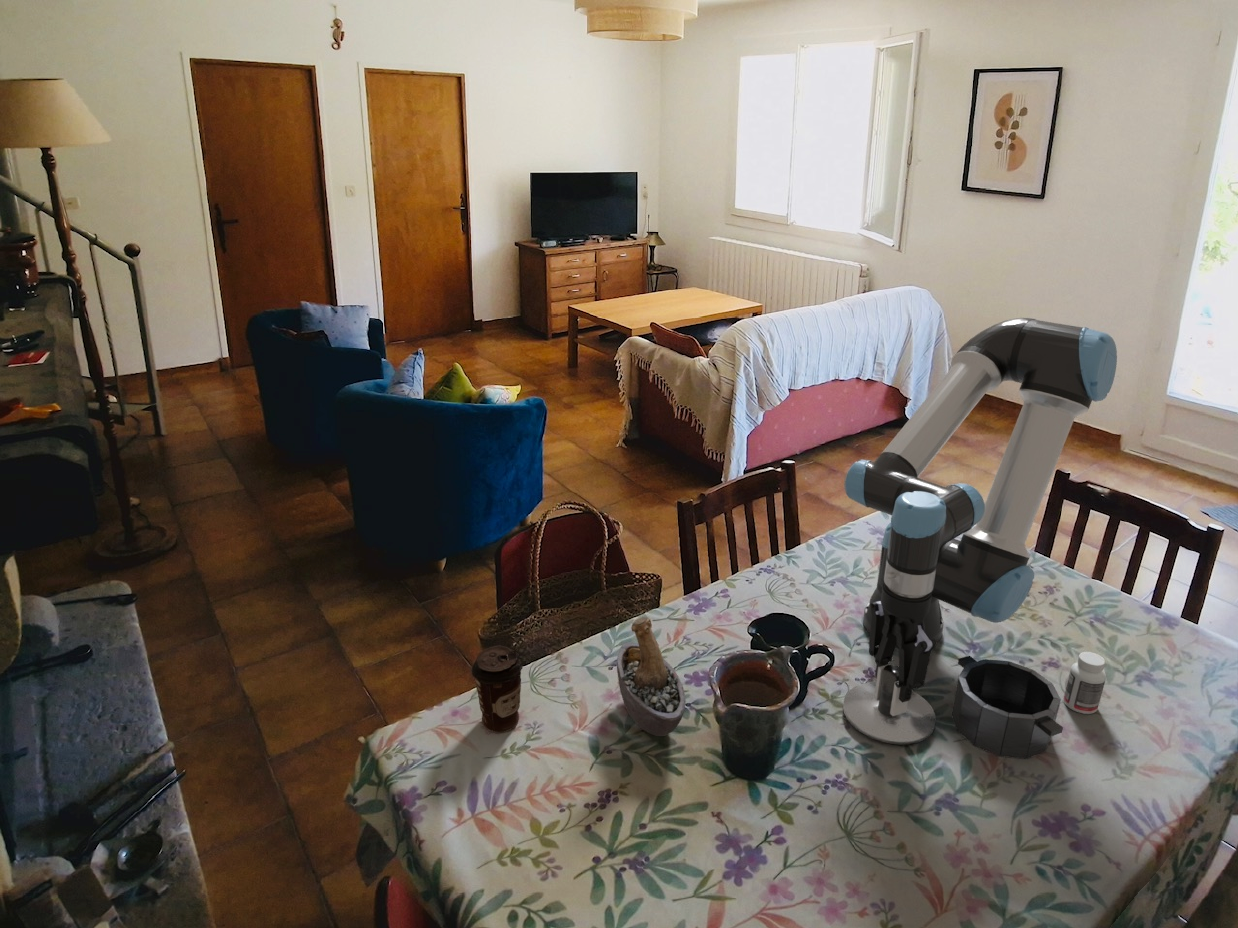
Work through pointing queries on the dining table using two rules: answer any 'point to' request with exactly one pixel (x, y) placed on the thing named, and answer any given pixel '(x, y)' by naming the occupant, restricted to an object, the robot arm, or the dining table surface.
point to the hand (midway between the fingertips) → (889, 704)
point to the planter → (649, 683)
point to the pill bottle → (1085, 683)
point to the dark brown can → (498, 687)
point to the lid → (888, 712)
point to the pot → (1005, 708)
